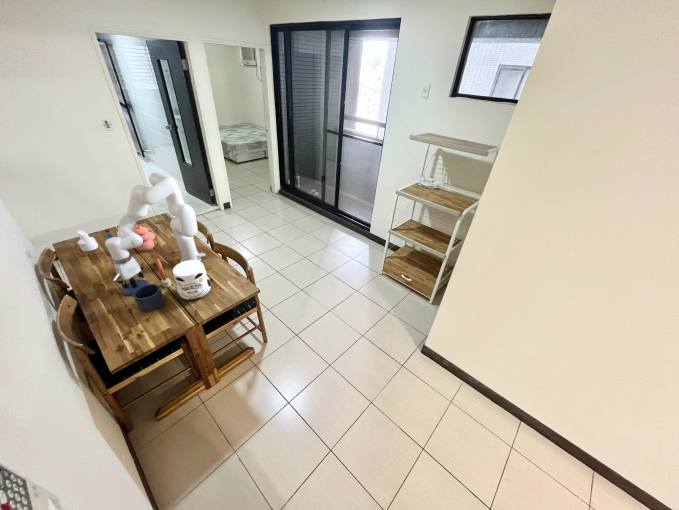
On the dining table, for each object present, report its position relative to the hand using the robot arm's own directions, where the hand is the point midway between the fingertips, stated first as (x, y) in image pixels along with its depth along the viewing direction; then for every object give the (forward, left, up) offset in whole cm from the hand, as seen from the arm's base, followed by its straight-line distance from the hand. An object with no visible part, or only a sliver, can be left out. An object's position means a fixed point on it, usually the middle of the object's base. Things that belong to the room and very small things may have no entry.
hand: (134, 282), depth 158 cm
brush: (-16, +4, -4) cm, 17 cm away
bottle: (+6, -18, -4) cm, 19 cm away
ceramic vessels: (+1, -55, -4) cm, 55 cm away
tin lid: (+1, 0, -3) cm, 3 cm away
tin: (-9, +18, -4) cm, 21 cm away
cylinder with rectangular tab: (+32, -59, -4) cm, 67 cm away
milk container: (-31, +17, -4) cm, 35 cm away
